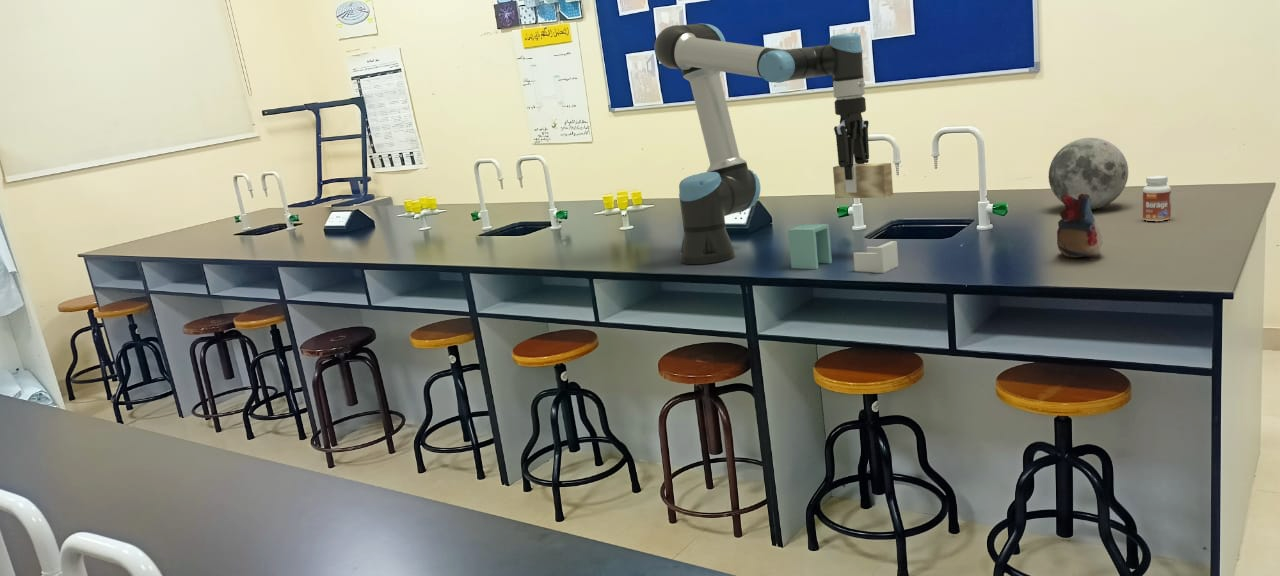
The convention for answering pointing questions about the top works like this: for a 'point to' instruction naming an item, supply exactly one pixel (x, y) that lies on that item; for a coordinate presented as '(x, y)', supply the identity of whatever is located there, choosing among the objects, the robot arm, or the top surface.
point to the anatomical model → (1078, 228)
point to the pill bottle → (1156, 198)
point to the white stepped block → (877, 258)
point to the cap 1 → (809, 245)
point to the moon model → (1089, 171)
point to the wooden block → (865, 181)
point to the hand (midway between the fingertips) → (856, 190)
